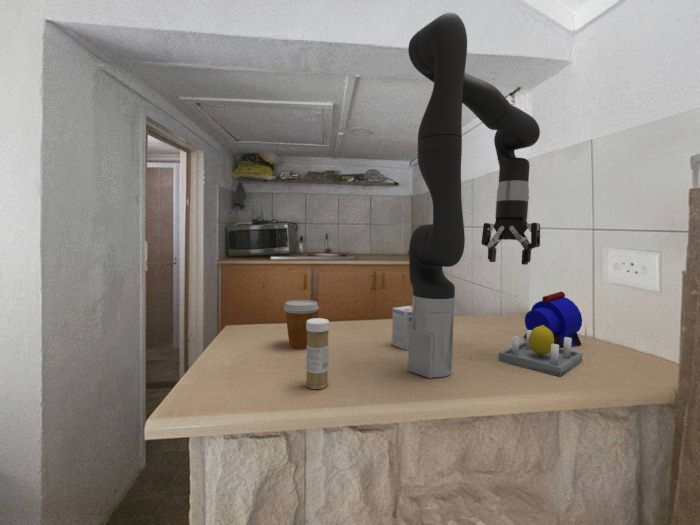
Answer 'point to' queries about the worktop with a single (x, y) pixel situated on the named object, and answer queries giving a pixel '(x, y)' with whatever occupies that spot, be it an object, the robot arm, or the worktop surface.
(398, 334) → the light bulb box
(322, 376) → the sprinkles bottle
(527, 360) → the tray
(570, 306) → the alarm clock
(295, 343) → the disposable coffee cup
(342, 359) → the worktop surface
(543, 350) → the lemon
